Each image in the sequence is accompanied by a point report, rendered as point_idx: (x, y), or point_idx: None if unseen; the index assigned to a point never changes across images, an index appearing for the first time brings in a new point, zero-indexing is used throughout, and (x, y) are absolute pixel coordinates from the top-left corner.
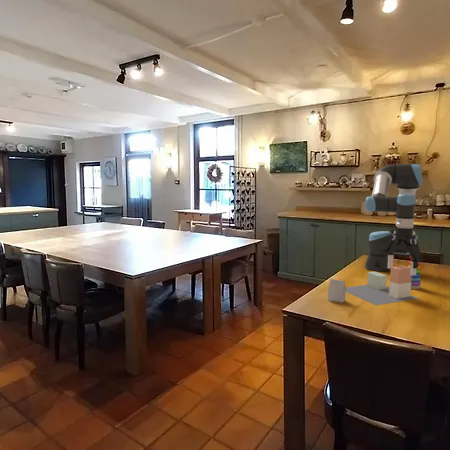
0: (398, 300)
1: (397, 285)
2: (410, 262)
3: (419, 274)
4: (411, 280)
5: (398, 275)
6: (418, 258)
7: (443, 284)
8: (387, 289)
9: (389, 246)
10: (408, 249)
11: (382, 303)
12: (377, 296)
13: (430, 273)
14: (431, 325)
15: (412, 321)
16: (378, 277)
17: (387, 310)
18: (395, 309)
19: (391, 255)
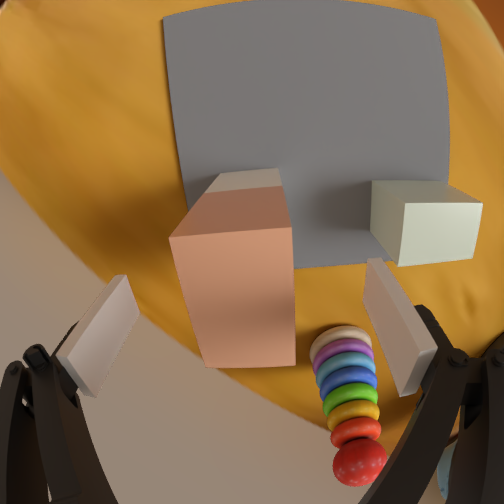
0: (193, 159)
1: (210, 189)
2: (365, 428)
3: (323, 401)
4: (332, 358)
5: (189, 214)
6: (5, 380)
7: (315, 421)
8: (358, 229)
9: (479, 455)
10: (55, 481)
11: (173, 55)
12: (277, 93)
13: (393, 433)
14: (4, 133)
15: (25, 90)
16: (405, 200)
17: (110, 44)
18: (109, 82)
19: (408, 373)
